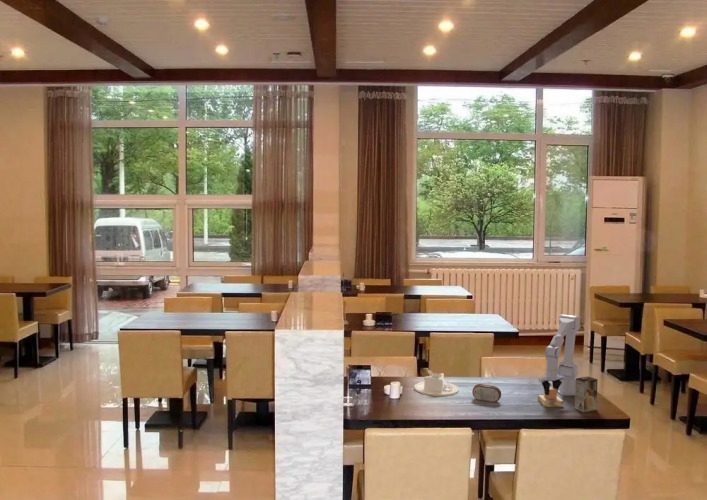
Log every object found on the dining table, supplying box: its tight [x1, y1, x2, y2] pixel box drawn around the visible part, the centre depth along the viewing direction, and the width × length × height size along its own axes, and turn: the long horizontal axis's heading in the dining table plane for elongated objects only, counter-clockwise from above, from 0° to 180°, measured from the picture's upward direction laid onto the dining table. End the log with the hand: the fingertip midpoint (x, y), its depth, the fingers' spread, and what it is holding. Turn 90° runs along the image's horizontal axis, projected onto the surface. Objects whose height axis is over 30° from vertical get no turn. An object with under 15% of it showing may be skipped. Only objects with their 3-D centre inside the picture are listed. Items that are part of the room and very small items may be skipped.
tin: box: [472, 383, 502, 403], centre depth 341 cm, size 15×3×8 cm, turn 65°
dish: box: [413, 369, 460, 397], centre depth 360 cm, size 25×25×11 cm
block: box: [543, 386, 558, 399], centre depth 339 cm, size 4×4×5 cm
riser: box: [537, 394, 564, 408], centre depth 339 cm, size 10×10×3 cm
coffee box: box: [574, 376, 598, 413], centre depth 330 cm, size 9×6×16 cm
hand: (550, 394), depth 338 cm, fingers closed on block, 4 cm apart
